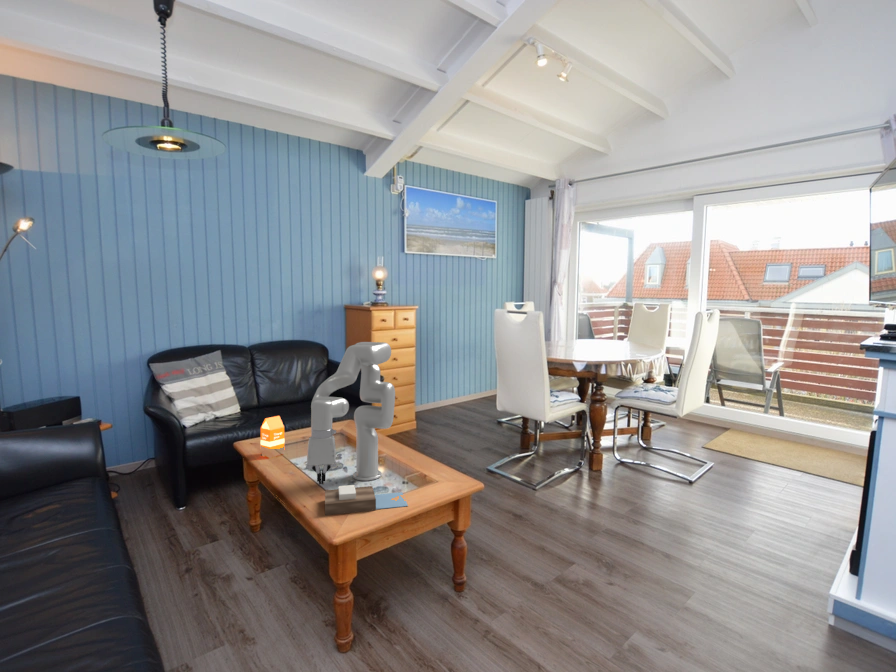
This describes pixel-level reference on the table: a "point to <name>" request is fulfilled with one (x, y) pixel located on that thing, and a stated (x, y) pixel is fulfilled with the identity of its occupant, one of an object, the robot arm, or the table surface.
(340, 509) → the brown wooden block
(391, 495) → the mat
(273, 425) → the orange juice
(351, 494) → the off-white flat slab
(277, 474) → the table surface
